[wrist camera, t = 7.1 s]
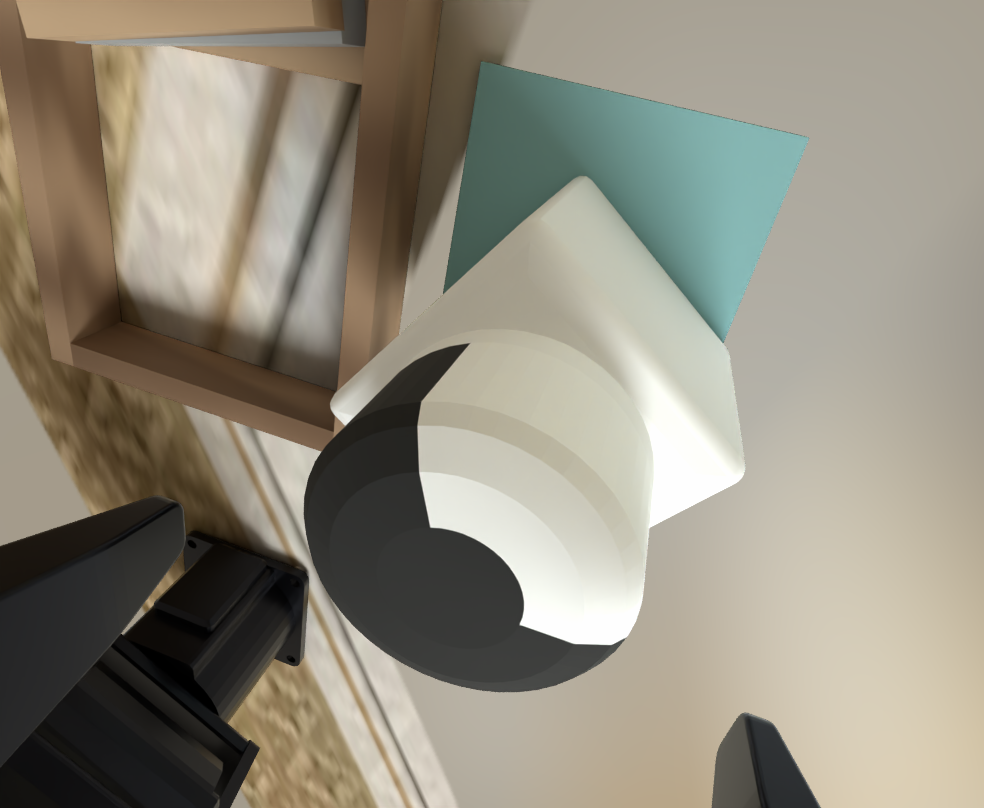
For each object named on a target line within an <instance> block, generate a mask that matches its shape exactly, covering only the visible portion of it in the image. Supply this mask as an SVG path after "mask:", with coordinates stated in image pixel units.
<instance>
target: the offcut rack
mask: <svg viewBox="0 0 984 808" xmlns="http://www.w3.org/2000/svg"><path fill="white" fill-rule="evenodd" d="M442 1H443V0H369V4H368V17H367V29H366V41H365V54H364V66H363V78H362V91H361V103H360V115H359V128H358V140H357V152H356V165H355V177H354V189H353V202H352V214H351V226H350V239H349V251H348V263H347V276H346V288H345V300H344V313H343V325H342V337H341V350H340V362H339V374H338V387H337V391H338V390H339V389H340V388H341V387H342V386H344V385H345V384H346V383H347V382H348V381H349V380H350V379H351V378H352V377H353V376H354V375H356V374H357V373H358V372H359V371H360V370H361V369H362V368H363V367H364V366H365V365H366V364H368V363H369V362H370V361H371V360H372V359H373V358H374V357H375V356H376V355H377V354H379V353H380V352H381V351H382V350H383V349H384V348H385V347H386V346H387V345H388V344H389V343H391V342H392V341H393V340H394V339H395V338H396V337H397V336H398V335H399V329H400V321H401V314H402V306H403V298H404V291H405V283H406V276H407V268H408V260H409V253H410V245H411V237H412V230H413V222H414V215H415V207H416V199H417V192H418V184H419V176H420V169H421V161H422V154H423V146H424V138H425V131H426V123H427V116H428V108H429V100H430V93H431V85H432V77H433V70H434V62H435V55H436V47H437V39H438V32H439V24H440V16H441V9H442ZM0 69H1V75H2V81H3V86H4V92H5V98H6V103H7V109H8V115H9V120H10V126H11V131H12V137H13V143H14V148H15V154H16V160H17V165H18V171H19V177H20V182H21V188H22V193H23V199H24V205H25V210H26V216H27V222H28V227H29V233H30V239H31V244H32V250H33V255H34V261H35V267H36V272H37V278H38V284H39V289H40V295H41V301H42V306H43V312H44V317H45V323H46V329H47V334H48V340H49V346H50V351H51V357H52V359H53V360H56V361H59V362H62V363H65V364H68V365H71V366H74V367H77V368H79V369H82V370H85V371H88V372H91V373H94V374H97V375H100V376H103V377H106V378H109V379H112V380H114V381H117V382H120V383H123V384H126V385H129V386H132V387H135V388H138V389H141V390H144V391H147V392H149V393H152V394H155V395H158V396H161V397H164V398H167V399H170V400H173V401H176V402H179V403H182V404H184V405H187V406H190V407H193V408H196V409H199V410H202V411H205V412H208V413H211V414H214V415H217V416H220V417H222V418H225V419H228V420H231V421H234V422H237V423H240V424H243V425H246V426H249V427H252V428H255V429H257V430H260V431H263V432H266V433H269V434H272V435H275V436H278V437H281V438H284V439H287V440H290V441H292V442H295V443H298V444H301V445H304V446H307V447H310V448H313V449H316V450H319V451H323V449H324V448H325V446H326V445H327V444H328V443H329V442H330V441H331V440H332V439H333V438H334V437H335V436H336V435H337V434H338V433H339V432H340V431H341V430H342V429H343V428H344V427H345V425H344V424H343V423H342V422H341V421H340V420H339V419H338V418H337V417H336V416H335V415H334V413H333V412H332V410H331V408H330V402H331V400H332V398H333V396H334V394H335V393H336V392H335V391H332V390H329V389H326V388H323V387H320V386H317V385H314V384H311V383H308V382H305V381H302V380H299V379H296V378H293V377H289V376H286V375H283V374H280V373H277V372H274V371H271V370H268V369H265V368H262V367H259V366H256V365H253V364H250V363H247V362H243V361H240V360H237V359H234V358H231V357H228V356H225V355H222V354H219V353H216V352H213V351H210V350H207V349H204V348H201V347H197V346H194V345H191V344H188V343H185V342H182V341H179V340H176V339H173V338H170V337H167V336H164V335H161V334H158V333H155V332H151V331H148V330H145V329H142V328H139V327H136V326H133V325H130V324H127V323H124V322H121V314H120V305H119V296H118V287H117V278H116V269H115V260H114V251H113V242H112V233H111V224H110V215H109V206H108V197H107V188H106V179H105V170H104V161H103V152H102V143H101V134H100V125H99V116H98V107H97V98H96V89H95V80H94V71H93V62H92V54H91V45H90V44H81V43H76V42H75V41H74V42H72V41H59V40H46V39H33V38H27V37H26V33H25V30H24V27H23V23H22V20H21V16H20V13H19V10H18V6H17V3H16V0H0Z"/></svg>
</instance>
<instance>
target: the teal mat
mask: <svg viewBox="0 0 984 808" xmlns="http://www.w3.org/2000/svg"><path fill="white" fill-rule="evenodd" d="M808 140H809V138H808V137H805V136H801V135H797V134H793V133H788V132H784V131H780V130H775V129H771V128H766V127H762V126H758V125H754V124H749V123H745V122H741V121H736V120H733V119H728V118H724V117H720V116H715V115H711V114H707V113H702V112H698V111H694V110H690V109H686V108H681V107H677V106H673V105H668V104H664V103H660V102H655V101H651V100H647V99H642V98H638V97H634V96H630V95H626V94H621V93H617V92H613V91H609V90H604V89H600V88H595V87H591V86H587V85H583V84H579V83H574V82H570V81H566V80H561V79H557V78H553V77H548V76H544V75H540V74H536V73H531V72H527V71H523V70H518V69H514V68H510V67H506V66H502V65H497V64H493V63H489V62H483V61H481V65H480V71H479V78H478V84H477V90H476V96H475V102H474V108H473V114H472V120H471V126H470V132H469V138H468V145H467V151H466V157H465V163H464V169H463V175H462V182H461V187H460V193H459V200H458V205H457V211H456V218H455V224H454V230H453V236H452V242H451V248H450V254H449V260H448V266H447V273H446V278H445V285H444V291H443V294H444V293H445V292H446V291H447V290H448V289H450V288H451V287H452V286H453V285H454V284H455V283H456V282H457V281H458V280H459V279H460V278H462V277H463V276H464V275H465V274H466V273H467V272H468V271H469V270H470V269H471V268H472V267H474V266H475V265H476V264H477V263H478V262H479V261H480V260H481V259H482V258H483V257H485V256H486V255H487V254H488V253H489V252H490V251H491V250H492V249H493V248H494V247H495V246H497V245H498V244H499V243H500V242H501V241H502V240H503V239H504V238H505V237H506V236H507V235H509V234H510V233H511V232H512V231H513V230H514V229H515V228H516V227H517V226H518V225H519V224H521V223H522V222H523V221H524V220H525V219H526V218H528V217H529V216H530V215H531V214H532V213H534V212H535V211H536V210H537V209H538V208H540V207H541V206H542V205H543V204H544V203H545V202H547V201H548V200H549V199H550V198H551V197H553V196H554V195H555V194H556V193H557V192H559V191H560V190H561V189H562V188H563V187H565V186H566V185H567V184H568V183H569V182H571V181H572V180H573V179H574V178H576V177H578V176H587V177H588V178H590V179H591V180H592V181H593V182H594V183H595V185H596V186H597V187H598V188H599V190H600V191H601V192H602V193H603V194H604V196H605V197H606V198H607V199H608V201H609V202H610V203H611V204H612V206H613V207H614V208H615V209H616V211H617V212H618V213H619V214H620V216H621V217H622V218H623V219H624V221H625V222H626V223H627V224H628V226H629V227H630V228H631V229H632V231H633V232H634V233H635V234H636V236H637V237H638V238H639V239H640V241H641V242H642V243H643V244H644V246H645V247H646V248H647V249H648V251H649V252H650V253H651V254H652V256H653V257H654V258H655V259H656V261H657V262H658V263H659V264H660V266H661V267H662V268H663V269H664V271H665V272H666V273H667V274H668V276H669V277H670V278H671V279H672V281H673V282H674V283H675V284H676V286H677V287H678V288H679V289H680V291H681V292H682V293H683V294H684V296H685V297H686V298H687V299H688V301H689V302H690V303H691V304H692V306H693V307H694V308H695V309H696V311H697V312H698V313H699V314H700V316H701V317H702V318H703V319H704V321H705V322H706V323H707V324H708V326H709V327H710V328H711V329H712V331H713V332H714V333H715V334H716V336H717V337H718V338H719V339H720V341H721V342H722V343H724V340H725V338H726V335H727V333H728V330H729V328H730V326H731V324H732V321H733V319H734V316H735V314H736V312H737V309H738V307H739V304H740V302H741V300H742V297H743V295H744V293H745V290H746V288H747V285H748V283H749V281H750V278H751V276H752V273H753V271H754V269H755V266H756V264H757V261H758V259H759V257H760V254H761V252H762V250H763V247H764V245H765V242H766V240H767V237H768V235H769V233H770V231H771V228H772V226H773V223H774V221H775V218H776V216H777V214H778V212H779V209H780V207H781V204H782V202H783V199H784V197H785V195H786V192H787V190H788V188H789V185H790V183H791V180H792V178H793V176H794V173H795V171H796V169H797V166H798V164H799V161H800V159H801V157H802V154H803V152H804V150H805V147H806V145H807V142H808Z"/></svg>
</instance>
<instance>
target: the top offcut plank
mask: <svg viewBox="0 0 984 808" xmlns="http://www.w3.org/2000/svg"><path fill="white" fill-rule="evenodd" d="M16 3H17V6H18V10H19V13H20V16H21V20H22V23H23V27H24V30H25V33H26V37H27V38H33V39H46V40H59V41H72V42H74V41H99V40H124V39H149V38H174V37H199V36H224V35H249V34H274V33H299V32H324V31H345V29H344V19H343V9H342V0H16Z"/></svg>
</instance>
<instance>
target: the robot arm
mask: <svg viewBox="0 0 984 808" xmlns="http://www.w3.org/2000/svg"><path fill="white" fill-rule="evenodd" d="M182 550H184V564H185V573H184V574H182V575H181V576H180V577H179V578H178V579H177V580H176V581H175V582H174V583H173V584H172V585H171V586H170V587H169V588H168V589H167V590H166V591H165V592H164V593H163V594H162V595H161V596H160V597H159V598H158V599H157V600H156V601H155V602H154V605H153V606H152V607H151V608H150V609H149V610H148V611H147V612H146V613H145V614H144V615H143V616H142V617H141V618H140V619H139V620H138V621H137V622H136V623H135V624H134V625H133V626H132V627H131V628H130V629H129V630H128V631H127V632H126V633H125V634H124V635H122V634H121V633H122V632H123V630H124V629H125V628H126V627H127V625H128V624H129V623H130V622H131V620H132V619H133V618H134V616H135V615H136V614H137V612H138V611H139V610H140V608H141V607H142V605H143V604H144V603H145V601H146V600H147V599H148V597H149V596H150V595H151V593H152V592H153V591H154V589H155V588H156V587H157V585H158V584H159V583H160V581H161V580H162V579H163V577H164V576H165V575H166V573H167V572H168V571H169V569H170V568H171V566H172V565H173V564H174V562H175V561H176V560H177V558H178V557H179V556H180V554H181V552H182ZM308 588H309V578H308V576H307V575H306V574H305V573H304V572H303V571H301V570H299V569H296V568H294V567H291V566H288V565H286V564H283V563H280V562H278V561H275V560H272V559H270V558H267V557H264V556H262V555H259V554H256V553H254V552H251V551H248V550H246V549H243V548H240V547H238V546H235V545H232V544H230V543H227V542H224V541H222V540H219V539H216V538H214V537H211V536H208V535H206V534H203V533H200V532H198V531H191V532H189V533H188V534H187V535H186V536H185V522H184V509H183V506H182V505H181V503H179V502H177V501H174V500H172V499H169V498H166V497H164V496H158V495H157V496H152V497H148V498H145V499H142V500H139V501H136V502H133V503H130V504H127V505H124V506H121V507H118V508H115V509H112V510H109V511H106V512H103V513H100V514H97V515H94V516H90V517H87V518H85V519H81V520H78V521H75V522H72V523H69V524H66V525H63V526H60V527H57V528H54V529H51V530H48V531H45V532H42V533H39V534H35V535H33V536H30V537H26V538H24V539H20V540H17V541H14V542H11V543H8V544H5V545H2V546H0V808H230V807H231V805H232V803H233V801H234V799H235V797H236V795H237V793H238V791H239V789H240V787H241V785H242V783H243V781H244V779H245V777H246V775H247V773H248V771H249V769H250V767H251V765H252V763H253V761H254V759H255V757H256V755H257V753H258V751H259V749H260V747H258V746H257V745H256V744H255V743H254V742H252V741H251V740H249V741H247V740H246V739H245V738H244V737H243V736H242V735H240V734H239V733H238V732H237V731H236V730H234V729H233V728H232V727H231V726H230V725H229V724H228V722H229V721H230V719H231V718H232V717H233V715H234V714H235V712H236V711H237V710H238V708H239V707H240V705H241V704H242V703H243V701H244V700H245V699H246V697H247V696H248V694H249V693H250V692H251V690H252V689H253V687H254V686H255V685H256V683H257V682H258V680H259V679H260V678H261V676H262V675H263V674H264V672H265V671H266V669H267V668H268V667H269V665H270V664H271V662H272V661H273V660H274V659H276V660H279V661H281V662H284V663H286V664H289V665H291V666H298V665H299V664H300V662H301V661H302V659H303V658H304V648H305V633H306V618H307V603H308ZM712 808H821V807H820V805H819V804H818V802H817V800H816V798H815V796H814V795H813V793H812V791H811V789H810V788H809V786H808V784H807V782H806V780H805V778H804V777H803V775H802V773H801V771H800V769H799V768H798V766H797V764H796V762H795V761H794V759H793V757H792V755H791V753H790V751H789V750H788V748H787V746H786V744H785V742H784V741H783V739H782V737H781V735H780V733H779V732H778V730H777V728H776V727H775V726H774V725H773V723H771V722H770V721H768V720H766V719H763V718H760V717H757V716H755V715H752V714H749V713H742V714H741V715H740V716H739V717H738V718H737V719H736V721H735V722H734V724H733V725H732V727H731V728H730V730H729V732H728V733H727V735H726V736H725V738H724V739H723V741H722V742H721V744H720V746H719V749H718V752H717V757H716V764H715V776H714V787H713V798H712Z"/></svg>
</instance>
